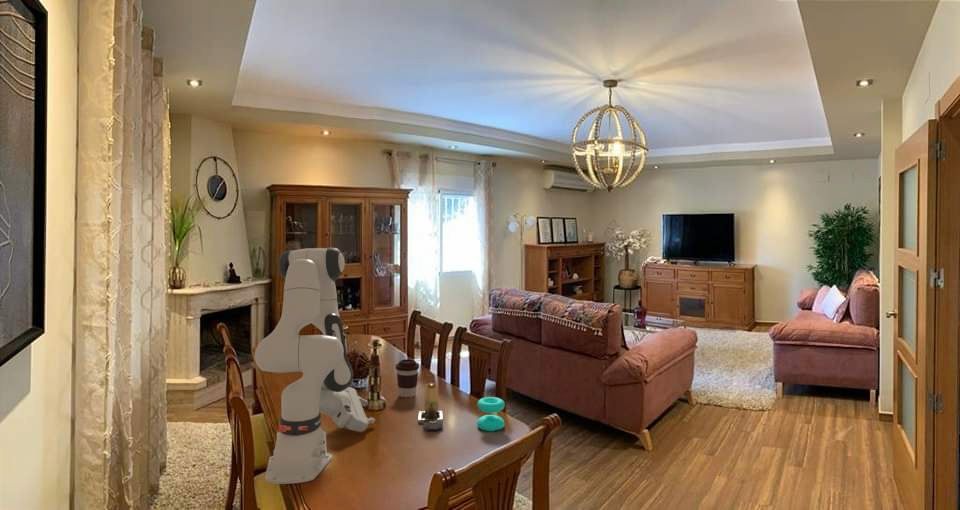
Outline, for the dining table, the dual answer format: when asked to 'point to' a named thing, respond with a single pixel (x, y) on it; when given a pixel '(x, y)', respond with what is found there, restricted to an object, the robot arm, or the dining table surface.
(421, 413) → the ring seat
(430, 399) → the tan bottle
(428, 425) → the carrier
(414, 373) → the coffee cup
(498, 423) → the donuts
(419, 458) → the dining table surface
